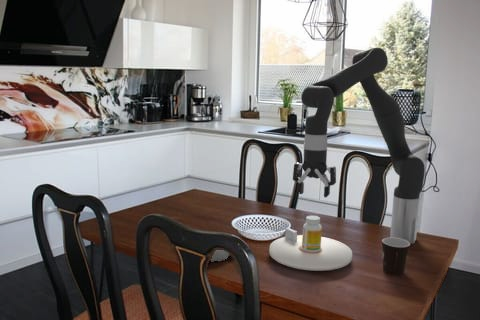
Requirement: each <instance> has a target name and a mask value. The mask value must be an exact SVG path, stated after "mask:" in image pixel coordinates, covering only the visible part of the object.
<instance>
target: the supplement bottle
mask: <svg viewBox="0 0 480 320" xmlns="http://www.w3.org/2000/svg"><path fill="white" fill-rule="evenodd" d="M320 223H321V217H320V216H317V215H307V216H305V223H304V224H303V226H302V235H303V238H302V249H303V250H305V251H308V252H317V251H319V250H320V248H321V237H322V235H323V234H322V230H323V227H322V225H321V224H320Z"/></svg>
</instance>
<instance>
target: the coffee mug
mask: <svg viewBox="0 0 480 320" xmlns="http://www.w3.org/2000/svg"><path fill="white" fill-rule="evenodd" d="M381 245H382V246H381V247H382V248H381V250H382V269H383V270H382V271H383V272H384V273H385V274H386V275H389V276H397V277H398V276H402V275H404V274H405V268H406V264H407V262H408V261H407V260H408V255H409V252H410V247H411V243H409V242H408V241H406V240H404V239H400V238H390V237H385V238H382V240H381Z"/></svg>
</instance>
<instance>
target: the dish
mask: <svg viewBox="0 0 480 320" xmlns="http://www.w3.org/2000/svg"><path fill="white" fill-rule="evenodd" d="M228 256H229V253H228V252H226V251H224V250H216V251H215V252H214V254H213V256H212V259H211V262H210V263H215V262H214V261H218V262H221V261H222V260H223V261H226V260H228V259H229V258H228ZM227 258H228V259H227ZM225 259H226V260H225Z"/></svg>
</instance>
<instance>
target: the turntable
mask: <svg viewBox="0 0 480 320" xmlns="http://www.w3.org/2000/svg"><path fill="white" fill-rule="evenodd" d="M284 235H285V236H283V237H279V238H277V239H275V240H273V241H272V242H271V243H270V245H269V256H270V257H271V258H272V259H273V260H275V261H276V262H277V263H279V264H282V265H284V266H287V267H289V268H294V269H297V270H303V271H316V272H318V271H320V272H322V271H332V270H339V269H341V268H343V267H346V266H348V265H349V264H351V262H352V259H353V251H352V249H351V248H350V247H349V246H348V245H346V244H345V243H342V242H341V241H339V240H336V239H333V238H329V237H325V236H321V248H320V250H319V251H317V252H308V251H305V250H303V249H302V238H303V234H298V231H297V230H294V229H293V228H292V229H291V228H290V227H285V234H284Z"/></svg>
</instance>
